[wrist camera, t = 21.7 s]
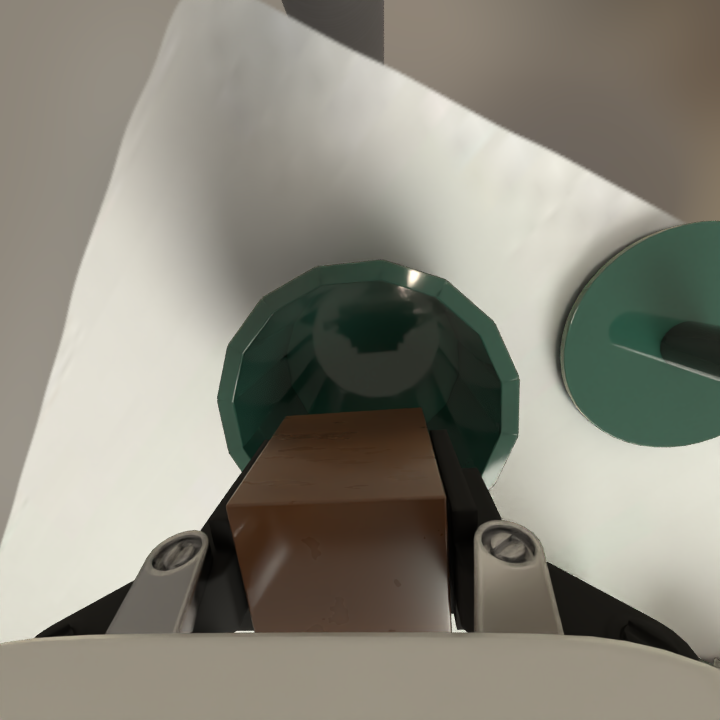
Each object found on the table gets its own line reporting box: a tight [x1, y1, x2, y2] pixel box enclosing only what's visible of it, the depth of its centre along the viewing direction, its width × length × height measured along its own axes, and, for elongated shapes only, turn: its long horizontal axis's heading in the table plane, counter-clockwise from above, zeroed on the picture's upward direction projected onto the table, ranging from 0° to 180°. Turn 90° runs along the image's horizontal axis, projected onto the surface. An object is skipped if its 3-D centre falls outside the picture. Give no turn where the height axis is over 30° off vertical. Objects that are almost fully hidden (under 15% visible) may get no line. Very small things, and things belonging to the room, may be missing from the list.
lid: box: [560, 221, 720, 447], centre depth 20 cm, size 15×15×6 cm
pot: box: [217, 260, 520, 490], centre depth 20 cm, size 14×14×10 cm
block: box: [226, 407, 452, 633], centre depth 10 cm, size 4×4×4 cm
